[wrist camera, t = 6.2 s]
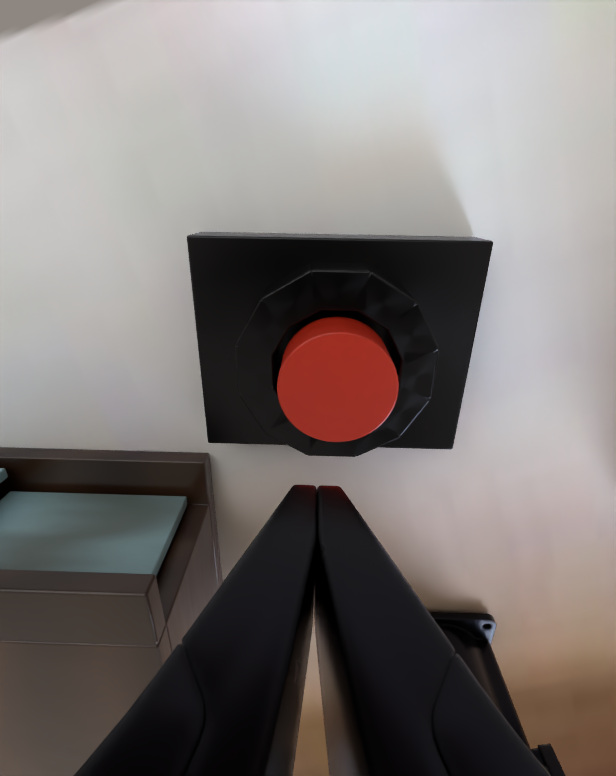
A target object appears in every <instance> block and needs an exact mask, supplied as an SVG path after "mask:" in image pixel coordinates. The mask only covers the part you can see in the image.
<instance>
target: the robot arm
mask: <svg viewBox="0 0 616 776" xmlns="http://www.w3.org/2000/svg"><path fill="white" fill-rule="evenodd" d="M313 610H314V620H315V634H316V644H317V654H318V664H319V674H320V685H321V695H322V705H323V715H324V725H325V735H326V745H327V755H328V765H329V776H565V774H564V772H563V770H562V767H561V765H560V763H559V761H558V759H557V757H556V755H555V753H554V750H553V748H552V746H551V744H550V743H549V744H542V745H538V748H534V749H530V746H529V744H528V741H527V739H526V736H525V733H524V731H523V728H522V726H521V723H520V720H519V718H518V715H517V713H516V710H515V707H514V705H513V702H512V700H511V697H510V695H509V692H508V689H507V687H506V684H505V682H504V679H503V676H502V674H501V671H500V669H499V666H498V664H497V661H496V658H495V656H494V653H493V651H492V648H491V645H490V644H491V641H492V638H493V635H494V632H495V629H496V623H495V621H494V618H493V617H492V616H491V615H490V614H475V613H444V612H428V610H427V609H426V607H425V606H424V605H423V603H422V602H421V600H420V599H419V597H418V596H417V595H416V593H415V592H414V590H413V589H412V588H411V586H410V585H409V583H408V582H407V580H406V579H405V578H404V576H403V575H402V573H401V572H400V571H399V569H398V568H397V566H396V565H395V563H394V562H393V561H392V559H391V558H390V556H389V555H388V554H387V552H386V551H385V549H384V548H383V546H382V545H381V544H380V542H379V541H378V539H377V538H376V536H375V535H374V534H373V532H372V531H371V529H370V528H369V527H368V525H367V524H366V522H365V521H364V519H363V518H362V517H361V515H360V514H359V512H358V511H357V510H356V508H355V507H354V505H353V504H352V502H351V501H350V500H349V498H348V497H347V495H346V494H345V493H344V491H343V490H342V488H341V487H339V486H319V487H318V488H317V489H316V487H315V486H313V485H294V486H293V487H292V488H291V489H290V491H289V492H288V493H287V495H286V496H285V497H284V499H283V500H282V502H281V503H280V504H279V506H278V507H277V509H276V510H275V511H274V513H273V514H272V515H271V517H270V518H269V520H268V521H267V522H266V524H265V525H264V526H263V528H262V529H261V531H260V532H259V533H258V535H257V536H256V537H255V539H254V540H253V542H252V543H251V544H250V546H249V547H248V548H247V550H246V551H245V553H244V554H243V555H242V557H241V558H240V560H239V561H238V562H237V564H236V565H235V566H234V568H233V569H232V571H231V572H230V573H229V575H228V576H227V577H226V579H225V580H224V582H223V583H222V584H221V586H220V587H219V588H218V590H217V591H216V593H215V594H214V595H213V597H212V598H211V599H210V601H209V602H208V604H207V605H206V606H205V608H204V609H203V611H202V612H201V613H200V615H199V616H198V617H197V619H196V620H195V622H194V623H193V624H192V626H191V627H190V628H189V630H188V631H187V633H186V634H185V635H184V637H183V638H182V644H178V645H177V646H176V647H175V649H174V650H173V651H172V653H171V654H170V656H169V657H168V658H167V660H166V661H165V663H164V664H163V665H162V667H161V668H160V669H159V671H158V672H157V673H156V675H155V676H154V677H153V679H152V680H151V681H150V683H149V684H148V685H147V687H146V688H145V689H144V690H143V692H142V693H141V694H140V696H139V697H138V698H137V700H136V701H135V702H134V703H133V705H132V706H131V707H130V709H129V710H128V711H127V713H126V714H125V715H124V716H123V718H122V719H121V720H120V721H119V722H118V724H117V725H116V726H115V727H114V728H113V729H112V731H111V732H110V733H109V734H108V735H107V737H106V738H105V739H104V740H103V741H102V743H101V744H100V745H99V746H98V747H97V748H96V750H95V751H94V752H93V753H92V754H91V756H90V757H89V758H88V759H87V760H86V762H85V763H84V764H83V765H82V766H81V767H80V769H79V770H78V771H77V772H76V773H75V774H74V775H73V776H293V768H294V761H295V753H296V746H297V738H298V731H299V723H300V716H301V708H302V701H303V693H304V686H305V678H306V671H307V663H308V656H309V648H310V641H311V634H312V624H313Z"/></svg>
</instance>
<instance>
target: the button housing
mask: <svg viewBox="0 0 616 776" xmlns="http://www.w3.org/2000/svg"><path fill="white" fill-rule="evenodd" d="M187 243H188V252H189V262H190V272H191V281H192V291H193V301H194V310H195V320H196V330H197V339H198V349H199V359H200V368H201V378H202V388H203V397H204V407H205V417H206V426H207V436H208V442H209V443H237V444H274V445H289V446H291V447H292V448H294V449H296V450H298V451H300V452H302V453H304V454H306V455H311V456H347V457H355V456H359V455H361V454H363V453H366V452H368V451H370V450H372V449H375V448H377V447H385V448H422V449H452V448H453V444H454V439H455V434H456V429H457V423H458V418H459V413H460V408H461V403H462V398H463V393H464V388H465V383H466V378H467V373H468V368H469V363H470V357H471V352H472V347H473V342H474V337H475V332H476V327H477V322H478V317H479V312H480V307H481V302H482V297H483V291H484V286H485V281H486V276H487V271H488V266H489V261H490V256H491V251H492V246H493V242H492V241H489V240H485V239H481V238H476V237H445V236H392V235H339V234H286V233H232V232H199V233H195V234H192V235H188V236H187ZM327 317H347V318H352V319H355V320H358V321H360V322H362V323H364V324H366V325H367V326H369V327H370V328H372V329H373V330H374V331H375V332H376V333H377V334H378V335H379V336H380V338H381V339H382V341H383V342H384V344H385V346H386V348H387V350H388V352H389V355H390V357H391V359H392V361H393V363H394V366H395V368H396V371H397V375H398V382H399V389H398V396H397V400H396V403H395V406H394V408H393V410H392V412H391V413H390V415H389V416H388V418H387V419H386V420H385V421H384V422H383V423H382V424H381V425H380V426H379V427H378V428H377V429H375V430H374V431H372V432H371V433H369V434H367V435H365V436H363V437H361V438H358V439H355V440H351V441H345V442H329V441H323V440H319V439H316V438H313V437H311V436H308V435H306V434H305V433H303V432H301V431H300V430H299V429H297V428H296V427H295V426H294V425H293V424H292V423H291V422H290V421H289V420H288V418H287V417H286V416H285V414H284V412H283V410H282V408H281V406H280V403H279V399H278V394H277V381H278V376H279V371H280V367H281V363H282V358H283V354H284V352H285V349H286V347H287V345H288V343H289V341H290V340H291V339H292V337H293V336H294V335H295V334H296V333H297V332H298V331H299V330H300V329H302V328H303V327H304V326H306V325H307V324H309V323H311V322H313V321H316V320H319V319H322V318H327Z"/></svg>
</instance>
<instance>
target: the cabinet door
mask: <svg viewBox="0 0 616 776" xmlns="http://www.w3.org/2000/svg"><path fill="white" fill-rule="evenodd" d="M7 477H8V475H7V472H6V469H5V468H0V483H1V482H3V481H4V480H5V479H6V478H7Z"/></svg>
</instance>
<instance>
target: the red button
mask: <svg viewBox="0 0 616 776" xmlns="http://www.w3.org/2000/svg"><path fill="white" fill-rule="evenodd" d="M398 389H399V382H398V375H397V371H396V368H395V366H394V363H393V361H392V359H391V357H390V355H389V352H388V350H387V348H386V346H385V344H384V342H383V341H382V339H381V338H380V336H379V335H378V334H377V333H376V332H375V331H374V330H373V329H372V328H370V327H369V326H367V325H366V324H364V323H362V322H360V321H358V320H355V319H352V318H347V317H327V318H322V319H319V320H316V321H313V322H311V323H309V324H307V325H306V326H304V327H303V328H302V329H300V330H299V331H298V332H297V333H296V334H295V335H294V336H293V337H292V339H291V340H290V341H289V343H288V345H287V347H286V349H285V352H284V354H283V358H282V363H281V367H280V371H279V376H278V381H277V394H278V399H279V403H280V406H281V408H282V410H283V412H284V414H285V416H286V417H287V418H288V420H289V421H290V422H291V423H292V424H293V425H294V426H295V427H296V428H297V429H299V430H300V431H301V432H303V433H305V434H306V435H308V436H311V437H313V438H316V439H319V440H323V441H329V442H345V441H351V440H355V439H358V438H361V437H363V436H365V435H367V434H369V433H371V432H372V431H374V430H375V429H377V428H378V427H379V426H380V425H381V424H382V423H383V422H384V421H385V420H386V419H387V418H388V416H389V415H390V413H391V412H392V410H393V408H394V406H395V403H396V400H397V396H398Z"/></svg>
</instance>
